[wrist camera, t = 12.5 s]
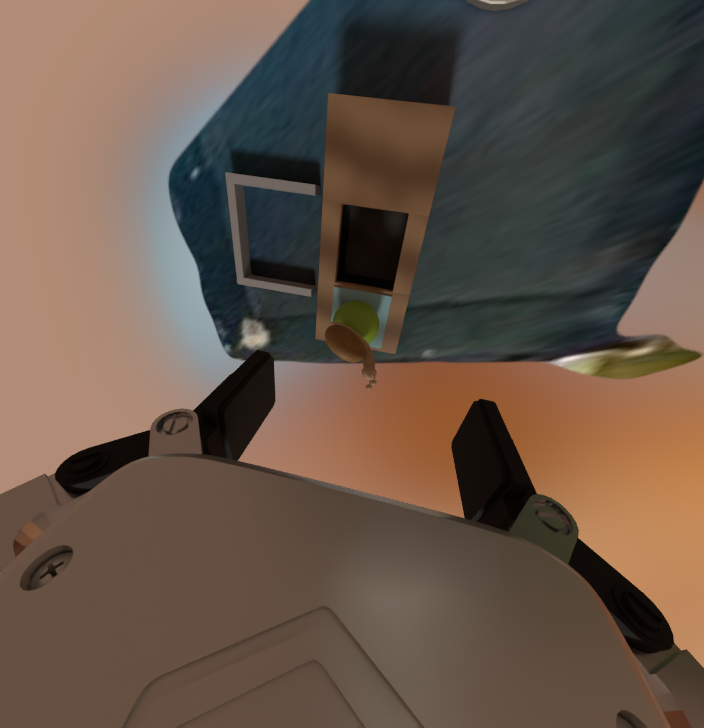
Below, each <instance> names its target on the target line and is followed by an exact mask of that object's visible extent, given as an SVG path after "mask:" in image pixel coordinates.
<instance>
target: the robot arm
mask: <svg viewBox="0 0 704 728" xmlns="http://www.w3.org/2000/svg"><path fill="white" fill-rule="evenodd" d="M466 1H467V2H468V3H470V4H472V5H474V6H476V7H478V8H480V9H486V10H492V11H497V10H504V9H510V8H513V7H515V6H518V5H520V4H523V3H525V2H527V1H528V0H466ZM274 380H275V379H274V358H273V357H272V356H271V355H270V353H269V352H264V351H259V350H256V351H255V352H254V353H253V354H252V355H251V356H250V357H249V358H248V359H247V360H246V361H245V362H244V363H243V364H242V365H241V366H240V367H239V368H238V369H237V370H236V371H235V372H234V373H232V374H231V375H229V376H228V377H227V378H226V379H225V380H224V381H223V382H222V383H221V384H220V385H219V386H218V387H217V388H216V389H215V390H214V391H213V392H212V393H211V394H210V395H209V396H208V397H207V398H206V399H205V400H204V401H203V402H202V403H201V404H200V405H198V407H196V408H195V410H193V411H192V410H188V409H176V410H172V411H169V412H166V413H164V414H162V415H161V416H159V417H158V418H157V419H156V420H155V421H154V422H153V423H152V426H151V429H150V430H148V431H145V432H142V433H138V434H135V435H131V436H128V437H124V438H121V439H118V440H114V441H111V442H108V443H104V444H101V445H97V446H94V447H90V448H87V449H85V450H82V451H80V452H78V453H76V454H74V455H72V456H71V457H69V458H68V459H67V460H65V461H64V462H63V463H62V464H61V465H60V466H59V467H58V469H57V471H56V473H55V474H53V475H50V476H49V477H48V476H47V475H46V474H43V475H41V476H39V477H37V478H35V479H32V480H30V481H28V482H26V483H24V484H22V485H20V486H17V487H15V488H13V489H11V490H9V491H7V492H4V493H3V494H0V728H704V668H703V667H702V666H701V665H700V664H699V662H698V661H697V660H696V659H695V658H694V657H693V656H692V655H691V654H690V653H689V652H688V651H687V650H682V651H681V650H680V649H679V648H678V647H677V646H676V644H675V643H674V640H673V633H672V631H671V628H670V626H669V624H668V622H667V621H666V619H665V617H664V616H663V615H662V613H661V612H660V610H659V609H658V608H657V607H656V605H655V604H654V603H653V602H652V601H651V600H650V599H649V598H648V597H647V596H646V595H645V594H644V593H643V592H641V591H640V590H639V589H638V588H637V587H635V586H634V585H633V584H632V583H631V582H630V581H628V580H627V579H626V578H625V577H623V576H622V575H621V574H620V573H619V572H618V571H617V570H615V569H614V568H613V567H612V566H611V565H609V564H608V563H607V562H606V561H605V560H604V559H602V558H601V557H600V556H599V555H598V554H596V553H595V552H594V551H593V550H592V549H590V548H589V547H588V546H587V545H586V544H585V543H583V542H582V541H581V540H580V539H579V538H578V531H579V530H578V527H577V524H576V522H575V520H574V518H573V517H572V515H571V514H570V513H569V512H568V511H567V510H566V509H565V508H564V507H563V506H562V505H561V504H560V503H558V502H557V501H555V500H553V499H552V498H550V497H547V496H545V495H540V494H537V493H536V491H535V489H534V486H533V484H532V482H531V480H530V478H529V476H528V473H527V471H526V469H525V467H524V464H523V462H522V460H521V458H520V455H519V453H518V451H517V449H516V447H515V445H514V443H513V440H512V439H511V436H510V434H509V432H508V430H507V428H506V425H505V423H504V421H503V419H502V417H501V414H500V412H499V410H498V408H497V405H496V403H495V402H493V401H488V400H484V399H479V400H478V401H474V402H473V404H472V406H471V407H470V409H469V411H468V413H467V415H466V417H465V419H464V421H463V422H462V424H461V426H460V428H459V430H458V431H457V434H456V435H455V437H454V439H453V441H452V452H453V458H454V463H455V469H456V474H457V479H458V485H459V490H460V495H461V501H462V506H463V511H464V517H465V518H461V517H457V516H454V515H450V514H447V513H443V512H439V511H435V510H431V509H427V508H424V507H419V506H416V505H412V504H408V503H404V502H400V501H397V500H393V499H389V498H385V497H381V496H377V495H373V494H369V493H365V492H361V491H357V490H354V489H350V488H345V487H342V486H338V485H334V484H329V483H326V482H322V481H318V480H314V479H310V478H306V477H302V476H298V475H294V474H290V473H285V472H281V471H277V470H274V469H270V468H266V467H261V466H257V465H253V464H248V463H244V462H240V461H238V459H239V458H240V456H241V455H242V453H243V452H244V450H245V449H246V447H247V446H248V444H249V443H250V441H251V440H252V438H253V436H254V435H255V433H256V432H257V430H258V429H259V427H260V426H261V424H262V423H263V421H264V420H265V418H266V417H267V415H268V413H269V412H270V411H271V409H272V408H273V406H274V403H275V382H274Z"/></svg>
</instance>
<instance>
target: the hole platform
mask: <svg viewBox="0 0 704 728" xmlns="http://www.w3.org/2000/svg"><path fill="white" fill-rule="evenodd" d="M454 111H455V107H453V106H444V105H435V104H425V103H416V102H407V101H397V100H388V99H379V98H370V97H360V96H351V95H342V94H332V93H328V110H327V130H326V149H325V168H324V187H323V206H322V225H321V244H320V263H319V282H318V301H317V320H316V339H318V340H323V341H326V340H325V331H326V329H327V328H328V327H329V326H331V325H330V323H331V322H333V317H334V314H335V313H336V311H337V310H338V308H339V307H340V306H341V305H343V304H344V303H346V302H349V301H355V300H357V301H363V302H365V303H367V304H369V305H370V306H372V307H373V309H374V310H375V311H376V313H377V315H378V318H379V330H378V333H377V335H376V337H375V339H374V340H373V341H372V342H371V343H369V346H370V348H371V350H376V351H381V352H386V353H392V354H395V353H396V349H397V345H398V341H399V337H400V333H401V329H402V325H403V320H404V316H405V312H406V308H407V304H408V300H409V296H410V292H411V288H412V284H413V279H414V275H415V271H416V267H417V263H418V259H419V255H420V251H421V247H422V243H423V238H424V234H425V230H426V226H427V222H428V218H429V214H430V210H431V206H432V202H433V197H434V193H435V189H436V185H437V181H438V177H439V173H440V169H441V165H442V160H443V156H444V152H445V148H446V144H447V140H448V136H449V132H450V128H451V124H452V119H453V115H454ZM343 204H346V205H353V206H351V210H350V220H349V230H348V240H347V249H346V259H345V269H344V273H347V274H353V275H359V276H365V277H371V278H377V279H383V280H389V281H394V279H395V283H394V288H393V290H390V289H385V288H379V287H373V286H367V285H361V284H355V283H349V282H343V281H337V272H338V261H339V249H340V238H341V227H342V216H343ZM357 206H360V207H357ZM364 207H367V208H364ZM371 208H374V209H371ZM378 209H381V210H378ZM385 210H388V211H385ZM392 211H395V212H392ZM399 212H402V213H399ZM406 213H409V215H408V214H406ZM407 216H408V220H407ZM406 221H407V225H406ZM405 226H406V230H405ZM404 230H405V234H404ZM403 235H404V239H403ZM402 240H403V244H402ZM401 245H402V249H401ZM400 250H401V254H400ZM399 255H400V259H399ZM398 260H399V263H398ZM397 265H398V268H397ZM396 269H397V273H396ZM395 274H396V278H395Z"/></svg>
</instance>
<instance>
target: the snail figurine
mask: <svg viewBox="0 0 704 728" xmlns="http://www.w3.org/2000/svg"><path fill="white" fill-rule="evenodd" d="M330 325H331V326H329V327H328V328H327V329H326V331H325V340H326V343H327V344H328V346H329V348H330V349H331V350H332V351H333V352H334V353H335V354H336V355H337V356H338V357H340V358H341V359H343V360H345V361H348V362H359V361H360V360H362V359H363V366H364V368H363V369H362V375H363V377H364V378H365V379H367V380H369V382H370V380H371V382H370V384H371V385H372V386H374V385H375V384H376V381H375V378H376V370H375V361H374V356H373V352H372V350H371V348H370V346H369V343H371V342H372V341H373V340H374V339H375V337H376V335H377V333H378V330H379V318H378V315H377V313H376V311H375V310H374V309H373V307H372V306H370V305H369V304H367V303H365V302H363V301H357V300H355V301H349V302H346V303H344V304H343V305H341V306H340V307H339V308H338V310H337V311H336V313H335V314H334V317H333V322H331V323H330ZM370 384H368V385H366V389H367V390H370V389H371V388H372V386H371V385H370Z"/></svg>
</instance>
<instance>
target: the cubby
mask: <svg viewBox="0 0 704 728" xmlns="http://www.w3.org/2000/svg"><path fill="white" fill-rule="evenodd" d="M225 175H226V184H227V193H228V202H229V211H230V220H231V229H232V238H233V246H234V255H235V264H236V273H237V282H238V284H242V285H247V286H253V287H259V288H265V289H270V290H276V291H282V292H287V293H293V294H299V295H304V296H310V297H311V296H312V295H314V294H315V293H316V286H314V285H308V284H302V283H296V282H291V281H285V280H279V279H273V278H267V277H262V276H256V275H251V265H250V252H249V240H248V228H247V216H246V204H245V192H244V186H250V187H258V188H265V189H272V190H279V191H286V192H293V193H300V194H307V195H314V196H320V191H321V187H320V186H318V185H314V184H306V183H299V182H292V181H285V180H278V179H270V178H263V177H256V176H249V175H241V174H234V173H227V172H225Z"/></svg>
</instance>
